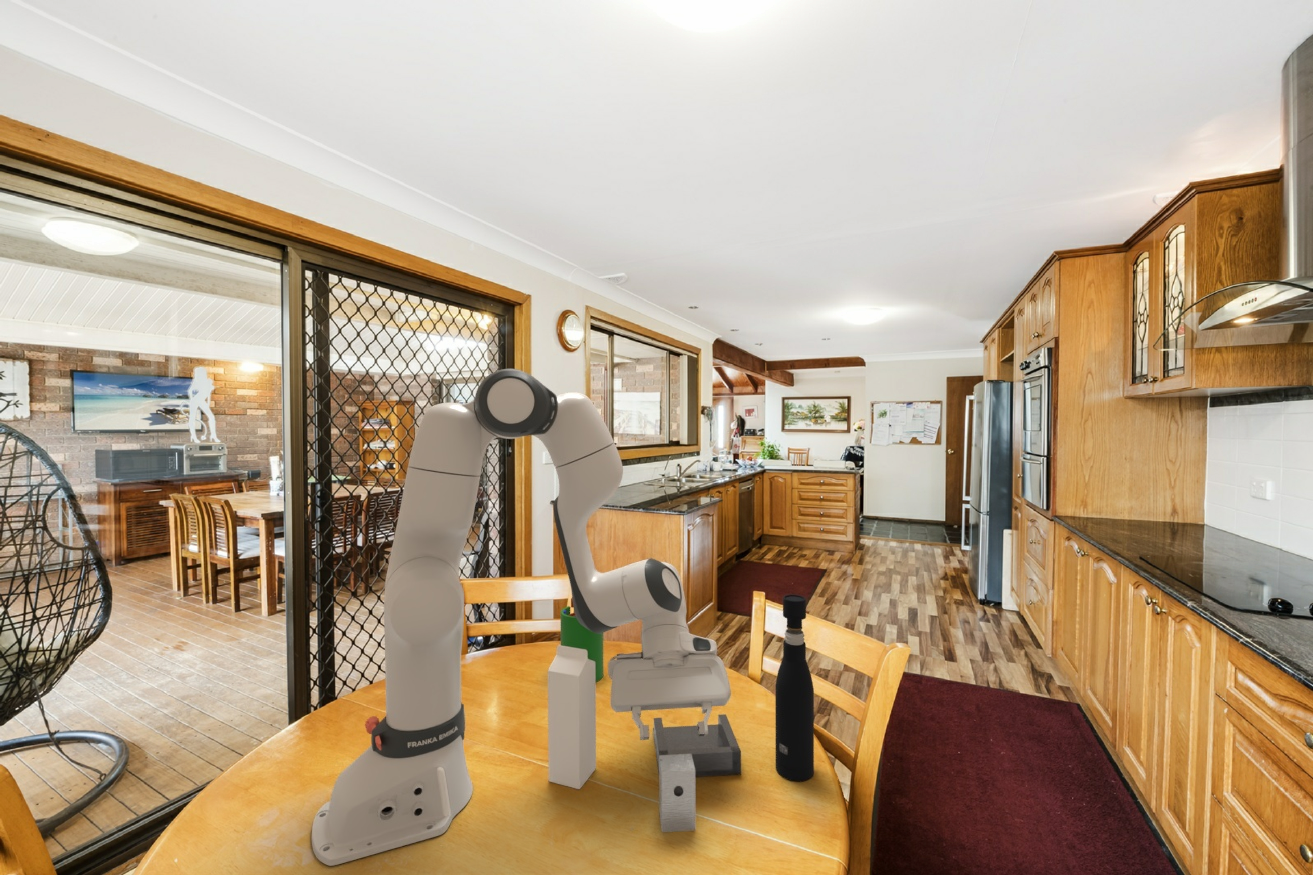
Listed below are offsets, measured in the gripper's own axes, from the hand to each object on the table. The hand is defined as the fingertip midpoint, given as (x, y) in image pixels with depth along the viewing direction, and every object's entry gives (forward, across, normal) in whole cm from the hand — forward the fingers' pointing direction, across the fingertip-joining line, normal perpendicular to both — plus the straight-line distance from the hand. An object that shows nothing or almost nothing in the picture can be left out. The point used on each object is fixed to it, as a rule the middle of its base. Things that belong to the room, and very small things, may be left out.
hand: (674, 737), depth 86 cm
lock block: (+11, 0, +3) cm, 11 cm away
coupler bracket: (-1, +5, +15) cm, 16 cm away
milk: (+2, -17, +12) cm, 21 cm away
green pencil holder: (-24, -17, +38) cm, 48 cm away
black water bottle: (+4, +22, +11) cm, 24 cm away
